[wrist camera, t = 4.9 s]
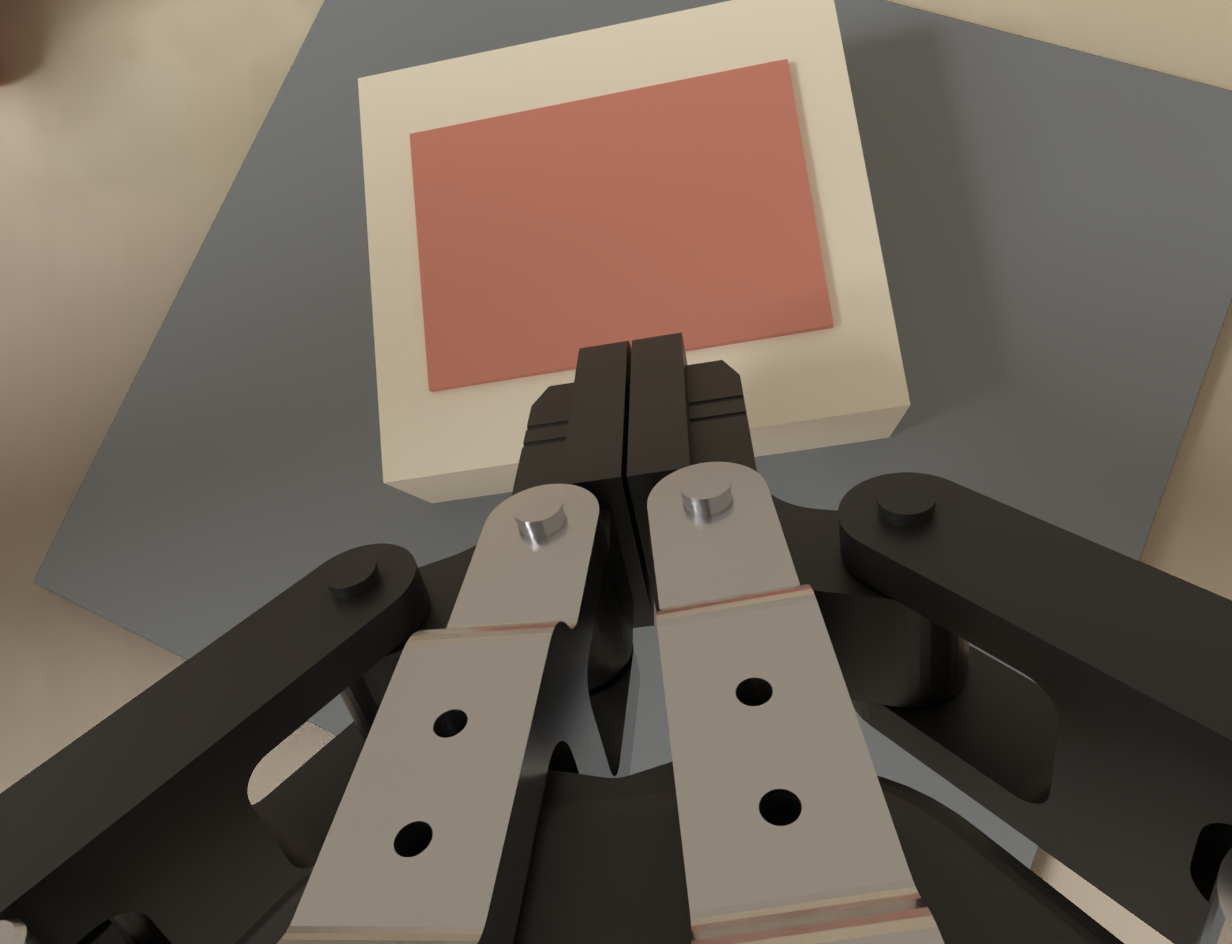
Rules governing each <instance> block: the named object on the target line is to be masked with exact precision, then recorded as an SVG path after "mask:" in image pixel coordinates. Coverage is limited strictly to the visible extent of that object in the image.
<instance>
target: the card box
mask: <svg viewBox="0 0 1232 944" xmlns="http://www.w3.org/2000/svg"><path fill="white" fill-rule="evenodd" d="M358 90H359V106H360V121H361V137H362V153H363V169H364V185H365V201H366V216H367V232H368V248H369V264H370V280H371V296H372V311H373V327H374V343H375V359H376V375H377V391H378V406H379V422H380V438H381V454H382V470H383V483H385V484H387V485H390V486H392V487H394V488H397V489H399V490H401V491H404V492H406V493H408V494H411V495H413V496H415V497H418V498H420V499H422V500H425V501H427V502H430V503H438V502H445V501H452V500H459V499H466V498H473V497H480V496H487V495H494V494H501V493H508V492H512V491H513V487H514V482H515V478H516V473H517V469H518V464H519V460H520V455H521V451H522V447H524V445H523V442H524V437H525V433H526V430H527V424H528V419H529V414H530V410H531V406H532V405H533V404H534V403H535V401H536V400H537V399H538V398H539V397H540V396H541V395H542V394H543V393H544V391H545V390H546V389H547V388H548V387H549V386H553V385H560V384H566V383H573V382H574V380H575V373H576V366H577V359H578V353H579V349H580V348H585V347H591V346H598V345H604V344H610V343H617V342H623V341H629V342H630V345H631V348H632V340H637V339H643V338H649V337H655V336H662V335H668V334H674V333H681V332H682V336H683V341H684V347H685V353H686V359H687V365H691V364H698V363H704V362H711V361H718V360H723V361H724V362H725V363H727V364H728V365H729V366H730V367H731V368H732V369H734V370H735V371H736V372H737V373H738V374H740V378H741V384H742V389H743V395H744V401H745V406H746V413H747V418H748V424H749V429H750V435H751V441H752V446H753V452H754V457H759V456H766V455H773V454H780V453H787V452H793V451H800V450H807V449H814V448H821V447H828V446H835V445H842V444H849V443H856V442H863V441H870V440H877V439H884V438H889V437H890V435H891V434H892V432H893V431H894V429H895V428H896V426H897V425H898V423H899V422H900V420H901V419H902V417H903V416H904V414H905V413H906V411H907V410H908V408H909V407H910V400H909V394H908V389H907V384H906V378H905V373H904V368H903V363H902V357H901V352H900V347H899V341H898V336H897V331H896V325H895V320H894V315H893V310H892V304H891V299H890V294H889V288H888V283H887V278H886V273H885V267H884V262H883V257H882V251H881V246H880V241H879V236H878V230H877V225H876V220H875V214H874V209H873V204H872V198H871V193H870V188H869V183H868V177H867V172H866V167H865V161H864V156H863V151H862V146H861V140H860V135H859V130H858V124H857V119H856V114H855V108H854V103H853V98H852V93H851V87H850V82H849V77H848V71H847V66H846V61H845V56H844V50H843V45H842V40H841V34H840V29H839V24H838V19H837V13H836V8H835V3H834V0H730V1H726V2H721V3H716V4H711V5H707V6H702V7H697V8H692V9H687V10H683V11H678V12H673V13H668V14H663V15H659V16H654V17H649V18H644V19H639V20H635V21H630V22H625V23H620V24H615V25H611V26H606V27H601V28H596V29H592V30H587V31H582V32H577V33H572V34H568V35H563V36H558V37H553V38H548V39H544V40H539V41H534V42H529V43H524V44H520V45H515V46H510V47H505V48H501V49H496V50H491V51H486V52H481V53H477V54H472V55H467V56H462V57H457V58H453V59H448V60H443V61H438V62H433V63H429V64H424V65H419V66H414V67H410V68H405V69H400V70H395V71H390V72H386V73H381V74H376V75H371V76H366V77H362V78H358Z"/></svg>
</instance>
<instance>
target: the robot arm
mask: <svg viewBox="0 0 1232 944" xmlns="http://www.w3.org/2000/svg"><path fill="white" fill-rule="evenodd" d="M523 445H524V447H522V451H521V455H520V460H519V464H518V469H517V473H516V478H515V482H514V487H513V491H512V496H511V497H509V498H508V499H506V500H504V501H503V502H502V503H500V504H499V505H498V506H497V507H496V508H495V509H494V510H493V511H492V512H491V513H490V515H489V516H488V518H487V520H486V522H485V524H484V526H483V529H482V532H481V535H480V537H479V540H478V543H477V544H476V545H475V546H473V547H471V548H469V549H467V550H465V551H463V552H461V553H458V554H456V555H453V556H450V557H448V558H445V559H442V560H439V561H436V562H433V563H430V564H427V565H425V566H422V567H419V568H418V566H417V564H416V561H415V559H414V557H413V555H412V554H411V553H410V552H409V551H408V550H407V549H405V548H403V547H401V546H398V545H394V544H387V543H378V544H369V545H364V546H359V547H356V548H353V549H350V550H347V551H345V552H343V553H340V554H338V555H336V556H334V557H332V558H331V559H329V560H327V561H326V562H324V563H323V564H321V565H320V566H319V567H317V568H316V569H314V570H313V571H312V572H310V573H309V574H307V575H306V576H305V577H303V578H302V579H300V580H299V581H298V582H296V583H295V584H293V585H292V586H291V587H289V588H288V589H286V590H285V591H284V592H282V593H281V594H279V595H278V596H277V597H275V598H274V599H272V600H271V601H270V602H268V603H267V604H265V605H264V606H263V607H261V608H260V609H258V610H257V611H256V612H254V613H253V614H251V615H250V616H249V617H247V618H246V619H244V620H243V621H242V622H240V623H239V624H237V625H236V626H235V627H233V628H232V629H230V630H229V631H228V632H226V633H225V634H223V635H222V636H221V637H219V638H218V639H216V640H215V641H214V642H212V643H211V644H209V645H208V646H207V647H205V648H204V649H202V650H201V651H200V652H198V653H197V654H195V655H194V656H193V657H191V658H190V659H188V660H187V661H186V662H184V663H183V664H181V665H180V666H179V667H177V668H176V669H174V670H173V671H172V672H170V673H169V674H167V675H166V676H165V677H163V678H162V679H160V680H159V681H158V682H156V683H155V684H153V685H152V686H151V687H149V688H148V689H146V690H145V691H144V692H142V693H141V694H139V695H138V696H137V697H135V698H134V699H132V700H131V701H130V702H128V703H127V704H125V705H124V706H123V707H121V708H120V709H118V710H117V711H116V712H114V713H113V714H111V715H110V716H109V717H107V718H106V719H104V720H103V721H102V722H100V723H99V724H97V725H96V726H95V727H93V728H92V729H90V730H89V731H88V732H86V733H85V734H83V735H82V736H81V737H79V738H78V739H76V740H75V741H74V742H72V743H71V744H69V745H68V746H67V747H65V748H64V749H62V750H61V751H60V752H58V753H57V754H55V755H54V756H53V757H51V758H50V759H48V760H47V761H46V762H44V763H43V764H41V765H40V766H39V767H37V768H36V769H34V770H33V771H32V772H30V773H29V774H27V775H26V776H25V777H23V778H22V779H20V780H19V781H18V782H16V783H15V784H13V785H12V786H11V787H9V788H8V789H6V790H5V791H4V792H2V793H1V794H0V944H1124V943H1123V942H1122V941H1120V940H1119V939H1118V938H1116V937H1115V936H1114V935H1113V934H1111V933H1110V932H1109V931H1108V930H1106V929H1105V928H1104V927H1102V926H1101V925H1100V924H1099V923H1097V922H1096V921H1095V920H1094V919H1092V918H1091V917H1090V916H1089V915H1087V914H1086V913H1085V912H1083V911H1082V910H1081V909H1080V908H1078V907H1077V906H1076V905H1075V904H1073V903H1072V902H1071V901H1069V900H1068V899H1067V898H1066V897H1064V896H1063V895H1062V894H1061V893H1059V892H1058V891H1057V890H1056V889H1054V888H1053V887H1052V886H1050V885H1049V884H1048V883H1047V882H1045V881H1044V880H1043V879H1042V878H1040V877H1039V876H1038V875H1036V874H1035V873H1034V872H1033V871H1031V870H1030V869H1029V868H1028V867H1026V866H1025V865H1024V864H1022V863H1021V862H1020V861H1019V860H1017V859H1016V858H1015V857H1014V856H1012V855H1011V854H1010V853H1009V852H1007V851H1006V850H1005V849H1003V848H1002V847H1001V846H1000V845H998V844H997V843H996V842H995V841H993V840H992V839H991V838H989V837H988V836H987V835H986V834H984V833H983V832H982V831H981V830H979V829H978V828H977V827H975V826H974V825H973V824H971V823H970V822H969V821H967V820H966V819H965V818H963V817H962V816H960V815H959V814H958V813H956V812H955V811H953V810H951V809H950V808H948V807H946V806H945V805H943V804H942V803H940V802H938V801H937V800H935V799H933V798H932V797H929V796H927V795H925V794H923V793H921V792H919V791H917V790H915V789H913V788H911V787H909V786H906V785H903V784H901V783H898V782H895V781H892V780H889V779H887V778H884V777H881V776H877V774H876V771H875V769H874V766H873V763H872V760H871V757H870V754H869V751H868V748H867V745H866V742H865V739H864V736H863V734H862V731H861V728H860V725H859V722H858V719H857V716H856V713H855V710H856V712H857V713H858V714H859V716H860V717H861V718H862V719H863V720H864V721H865V722H867V723H868V724H869V725H870V726H872V727H873V728H874V729H876V730H877V731H879V732H880V733H881V734H883V735H884V736H886V737H887V738H888V739H890V740H891V741H893V742H894V743H895V744H897V745H898V746H900V747H901V748H902V749H904V750H905V751H906V752H908V753H909V754H911V755H912V756H913V757H915V758H916V759H918V760H919V761H920V762H922V763H923V764H925V765H926V766H927V767H929V768H930V769H932V770H933V771H934V772H936V773H937V774H939V775H940V776H941V777H943V778H944V779H946V780H947V781H948V782H950V783H951V784H953V785H954V786H955V787H957V788H958V789H959V790H961V791H962V792H964V793H965V794H966V795H968V796H969V797H971V798H972V799H973V800H975V801H976V802H978V803H979V804H980V805H982V806H983V807H985V808H986V809H987V810H989V811H990V812H992V813H993V814H994V815H996V816H997V817H999V818H1000V819H1001V820H1003V821H1004V822H1005V823H1007V824H1008V825H1010V826H1011V827H1012V828H1014V829H1015V830H1017V831H1018V832H1019V833H1021V834H1022V835H1024V836H1025V837H1026V838H1028V839H1029V840H1031V841H1032V842H1033V843H1035V844H1036V845H1038V846H1039V847H1040V848H1042V849H1043V850H1045V851H1046V852H1047V853H1049V854H1050V855H1052V856H1053V857H1054V858H1056V859H1057V860H1058V861H1060V862H1061V863H1063V864H1064V865H1065V866H1067V867H1068V868H1070V869H1071V870H1072V871H1074V872H1075V873H1077V874H1078V875H1079V876H1081V877H1082V878H1084V879H1085V880H1086V881H1088V882H1089V883H1091V884H1092V885H1093V886H1095V887H1096V888H1098V889H1099V890H1100V891H1102V892H1103V893H1104V894H1106V895H1107V896H1109V897H1110V898H1111V899H1113V900H1114V901H1116V902H1117V903H1118V904H1120V905H1121V906H1123V907H1124V908H1125V909H1127V910H1128V911H1130V912H1131V913H1132V914H1134V915H1135V916H1137V917H1138V918H1139V919H1141V920H1142V921H1144V922H1145V923H1146V924H1148V925H1149V926H1151V927H1152V928H1153V929H1155V930H1156V931H1157V932H1159V933H1160V934H1162V935H1163V936H1164V937H1166V938H1167V939H1169V940H1170V941H1171V942H1173V943H1174V944H1232V601H1231V600H1229V599H1226V598H1224V597H1222V596H1219V595H1217V594H1215V593H1212V592H1210V591H1207V590H1205V589H1203V588H1200V587H1198V586H1196V585H1193V584H1191V583H1189V582H1186V581H1184V580H1182V579H1179V578H1177V577H1175V576H1172V575H1170V574H1168V573H1165V572H1163V571H1161V570H1158V569H1156V568H1154V567H1151V566H1149V565H1147V564H1144V563H1142V562H1140V561H1137V560H1135V559H1133V558H1130V557H1128V556H1126V555H1123V554H1121V553H1118V552H1116V551H1114V550H1111V549H1109V548H1107V547H1104V546H1102V545H1100V544H1097V543H1095V542H1093V541H1090V540H1088V539H1086V538H1083V537H1081V536H1079V535H1076V534H1074V533H1072V532H1069V531H1067V530H1065V529H1062V528H1060V527H1058V526H1055V525H1053V524H1051V523H1048V522H1046V521H1044V520H1041V519H1039V518H1037V517H1034V516H1032V515H1029V514H1027V513H1025V512H1022V511H1020V510H1018V509H1015V508H1013V507H1011V506H1008V505H1006V504H1004V503H1001V502H999V501H997V500H994V499H992V498H990V497H987V496H985V495H983V494H980V493H978V492H976V491H973V490H971V489H969V488H966V487H964V486H962V485H959V484H957V483H955V482H952V481H950V480H947V479H944V478H942V477H939V476H934V475H930V474H924V473H915V472H901V473H890V474H884V475H880V476H876V477H873V478H870V479H868V480H865V481H863V482H861V483H859V484H858V485H856V486H854V487H853V488H852V489H850V490H849V491H848V492H847V493H846V494H845V496H844V497H843V498H842V500H841V502H840V504H839V508H838V511H837V510H824V509H814V508H806V507H801V506H797V505H793V504H790V503H787V502H784V501H782V500H780V499H778V498H776V497H775V496H773V495H772V494H771V493H770V491H769V488H768V485H767V483H766V481H765V479H764V478H763V477H762V476H761V475H760V474H759V473H758V472H757V469H756V463H755V458H754V452H753V446H752V441H751V435H750V429H749V424H748V418H747V413H746V406H745V401H744V395H743V389H742V384H741V378H740V374H738V373H737V372H736V371H735V370H734V369H732V368H731V367H730V366H729V365H728V364H727V363H725V362H724V361H723V360H718V361H711V362H704V363H698V364H691V365H687V359H686V353H685V347H684V341H683V336H682V332H681V333H674V334H668V335H662V336H655V337H649V338H643V339H637V340H632V348H631V345H630V342H629V341H623V342H617V343H610V344H604V345H598V346H591V347H585V348H580V349H579V353H578V359H577V366H576V373H575V380H574V382H573V383H566V384H560V385H553V386H549V387H548V388H547V389H546V390H545V391H544V393H543V394H542V395H541V396H540V397H539V398H538V399H537V400H536V401H535V403H534V404H533V405H532V406H531V410H530V414H529V419H528V424H527V430H526V433H525V437H524V442H523ZM654 603H655V607H656V621H657V631H658V639H659V648H660V657H661V665H662V674H663V683H664V691H665V700H666V709H667V717H668V726H669V735H670V743H671V752H672V762H669V763H666V764H663V765H660V766H657V767H654V768H651V769H647V770H644V771H641V772H638V773H635V774H632V775H630V768H631V759H632V750H633V741H634V732H635V723H636V714H637V704H638V695H639V686H640V670H639V666H638V662H637V658H636V654H635V650H634V645H633V628H638V627H647V626H654ZM969 643H971V644H973V645H974V646H976V647H978V648H980V649H981V650H983V651H985V652H987V653H988V654H990V655H992V656H994V657H995V658H997V659H999V660H1001V661H1002V662H1004V663H1006V664H1008V665H1009V666H1011V667H1013V668H1015V669H1016V670H1018V671H1020V672H1022V673H1023V674H1025V675H1027V676H1028V677H1030V678H1031V679H1032V680H1034V681H1035V682H1036V683H1035V682H1033V681H1031V680H1030V679H1028V678H1026V677H1024V676H1023V675H1021V674H1019V673H1017V672H1016V671H1014V670H1012V669H1011V668H1009V667H1007V666H1005V665H1004V664H1002V663H1000V662H998V661H997V660H995V659H993V658H991V657H990V656H988V655H986V654H984V653H983V652H981V651H979V650H977V649H976V648H974V647H972V646H970V645H969ZM339 694H340V696H341V697H342V699H343V701H344V703H345V705H346V707H347V709H348V711H349V713H350V715H351V717H352V719H353V720H354V722H352V723H351V724H350V725H349V726H348V727H347V728H345V729H344V730H343V731H342V732H341V733H340V734H338V735H337V736H336V737H335V738H334V739H333V740H331V741H330V742H329V743H328V744H327V745H326V746H324V747H323V748H322V749H321V750H320V751H319V752H317V753H316V754H315V755H314V756H313V757H312V758H311V759H309V760H308V761H307V762H306V763H305V764H304V765H302V766H301V767H300V768H299V769H298V770H297V771H295V772H294V773H293V774H292V775H291V776H290V777H288V778H287V779H286V780H285V781H284V782H283V783H281V784H280V785H279V786H278V787H277V788H276V789H274V790H273V791H272V792H271V793H270V794H269V795H267V796H266V797H265V798H264V799H262V800H261V801H259V802H258V803H256V804H254V805H251V803H250V801H249V799H248V795H247V787H248V782H249V779H250V776H251V774H252V772H253V770H254V768H255V767H256V765H257V764H258V763H259V762H260V760H261V759H262V758H263V757H264V756H265V755H266V754H268V753H269V752H270V751H271V750H272V749H274V748H275V747H276V746H277V745H278V744H280V743H281V742H282V741H283V740H284V739H286V738H287V737H288V736H289V735H290V734H292V733H293V732H294V731H295V730H297V729H298V728H299V727H300V726H301V725H303V724H304V723H305V722H306V721H307V720H309V719H310V718H311V717H312V716H313V715H315V714H316V713H317V712H318V711H320V710H321V709H322V708H323V707H324V706H326V705H327V704H328V703H329V702H330V701H332V700H333V699H334V698H335V697H336V696H338V695H339ZM854 709H855V710H854Z"/></svg>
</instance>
